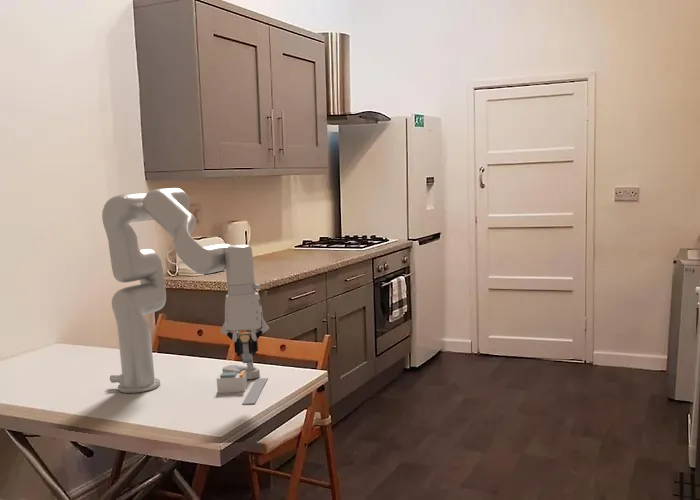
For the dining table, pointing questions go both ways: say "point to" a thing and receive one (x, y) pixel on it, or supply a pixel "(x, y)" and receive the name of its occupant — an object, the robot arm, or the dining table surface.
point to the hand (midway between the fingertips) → (246, 353)
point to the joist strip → (255, 391)
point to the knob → (246, 347)
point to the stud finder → (231, 382)
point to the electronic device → (249, 370)
